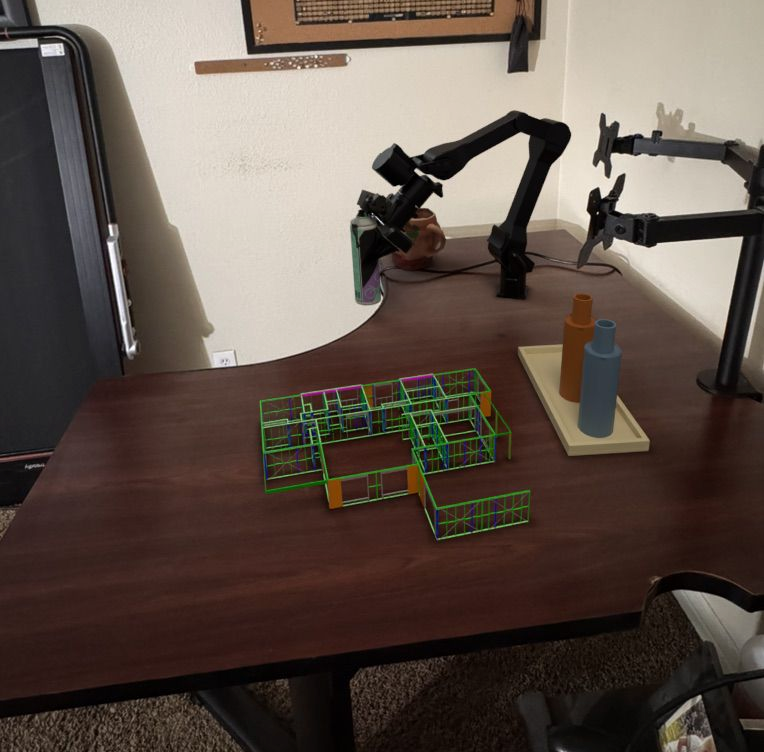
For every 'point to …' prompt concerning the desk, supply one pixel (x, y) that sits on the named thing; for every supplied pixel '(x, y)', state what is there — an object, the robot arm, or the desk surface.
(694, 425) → the desk surface
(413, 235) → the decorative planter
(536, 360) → the tray
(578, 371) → the amber bottle
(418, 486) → the house model
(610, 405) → the slate bottle
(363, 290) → the spray can
